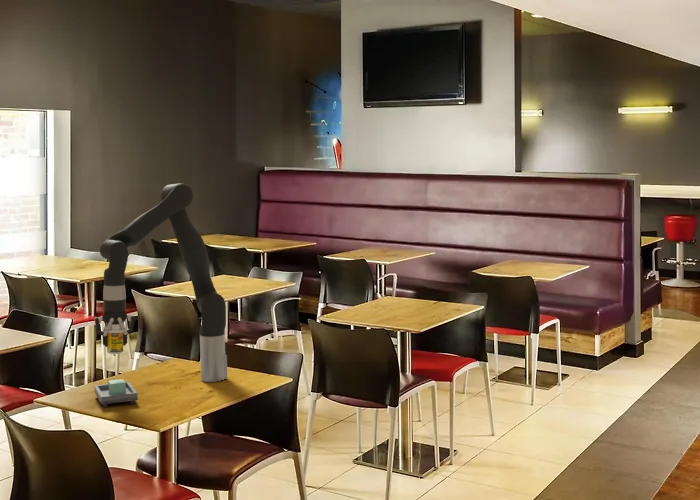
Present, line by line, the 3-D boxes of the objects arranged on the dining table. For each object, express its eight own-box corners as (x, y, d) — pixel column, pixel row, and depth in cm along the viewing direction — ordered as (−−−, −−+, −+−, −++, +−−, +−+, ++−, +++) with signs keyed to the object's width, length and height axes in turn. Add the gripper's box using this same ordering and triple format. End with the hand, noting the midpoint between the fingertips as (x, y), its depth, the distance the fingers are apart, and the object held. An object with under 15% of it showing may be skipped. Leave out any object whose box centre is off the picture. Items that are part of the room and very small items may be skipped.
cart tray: (129, 392, 315) (128, 381, 314) (137, 404, 300) (137, 392, 300) (94, 396, 310) (94, 385, 310) (101, 408, 296) (101, 397, 295)
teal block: (123, 393, 305) (123, 379, 304) (126, 396, 300) (125, 382, 300) (108, 394, 303) (108, 380, 302) (111, 398, 299) (110, 384, 298)
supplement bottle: (109, 355, 303) (109, 325, 302) (104, 352, 308) (104, 323, 307) (125, 353, 306) (125, 324, 305) (120, 350, 311) (120, 321, 310)
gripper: (133, 295, 311) (134, 342, 313) (91, 297, 306) (92, 345, 307) (137, 298, 305) (137, 346, 306) (94, 300, 299) (95, 349, 301)
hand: (115, 345), depth 307 cm, fingers closed on supplement bottle, 5 cm apart
